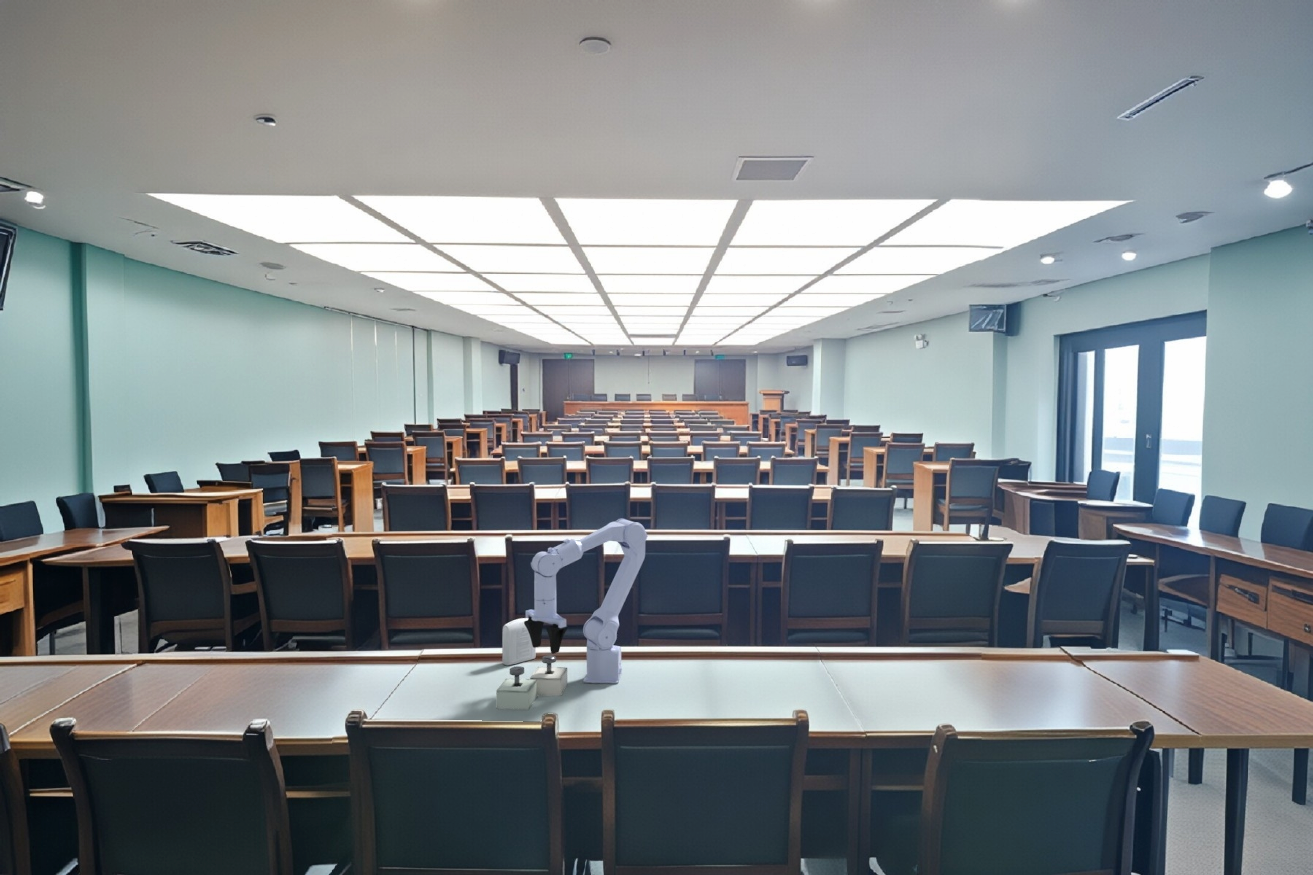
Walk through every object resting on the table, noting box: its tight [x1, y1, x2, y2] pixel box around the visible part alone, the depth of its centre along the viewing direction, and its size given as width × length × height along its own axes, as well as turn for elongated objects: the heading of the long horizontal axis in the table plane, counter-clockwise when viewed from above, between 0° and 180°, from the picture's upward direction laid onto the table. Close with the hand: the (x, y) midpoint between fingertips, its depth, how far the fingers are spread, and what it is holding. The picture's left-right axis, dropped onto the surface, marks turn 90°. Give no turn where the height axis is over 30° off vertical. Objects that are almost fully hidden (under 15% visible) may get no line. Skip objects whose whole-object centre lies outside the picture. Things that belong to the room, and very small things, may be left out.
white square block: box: [529, 666, 568, 697], centre depth 180 cm, size 8×8×4 cm
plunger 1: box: [509, 665, 525, 687], centre depth 172 cm, size 5×5×5 cm
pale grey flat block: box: [495, 678, 538, 711], centre depth 172 cm, size 8×8×4 cm
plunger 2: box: [541, 654, 557, 674], centre depth 180 cm, size 5×5×5 cm
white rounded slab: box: [501, 617, 537, 666], centre depth 202 cm, size 10×4×12 cm, turn 134°
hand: (545, 649), depth 181 cm, fingers open, 7 cm apart
